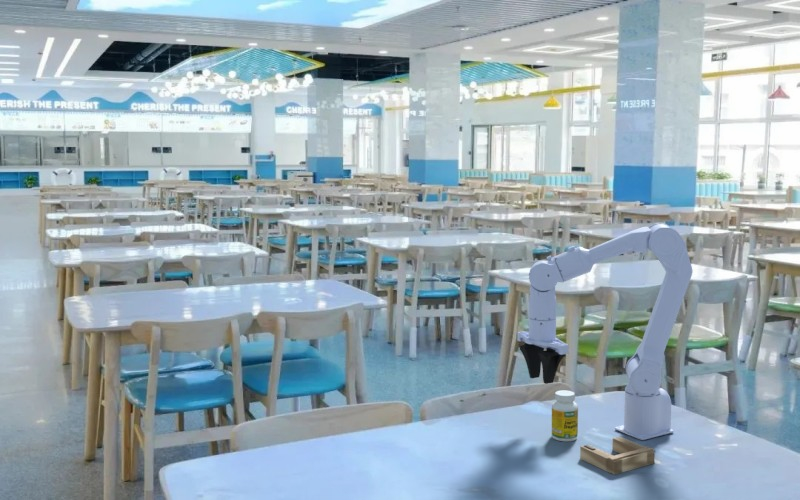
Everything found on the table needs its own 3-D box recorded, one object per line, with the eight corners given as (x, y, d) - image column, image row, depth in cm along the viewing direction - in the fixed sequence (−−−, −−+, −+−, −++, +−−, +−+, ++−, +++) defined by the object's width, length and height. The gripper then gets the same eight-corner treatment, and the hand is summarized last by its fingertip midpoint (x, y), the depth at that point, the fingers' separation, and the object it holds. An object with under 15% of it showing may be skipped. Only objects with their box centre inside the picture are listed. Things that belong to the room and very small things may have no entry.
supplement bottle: (564, 431, 175) (565, 387, 173) (583, 438, 170) (584, 393, 169) (545, 436, 172) (546, 391, 170) (564, 444, 167) (565, 398, 166)
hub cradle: (619, 448, 164) (620, 435, 164) (654, 463, 157) (654, 449, 156) (580, 458, 159) (580, 445, 159) (613, 474, 152) (614, 460, 151)
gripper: (506, 314, 178) (505, 374, 180) (550, 326, 166) (549, 391, 168) (531, 310, 182) (531, 370, 184) (576, 322, 170) (575, 386, 171)
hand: (541, 380), depth 176 cm, fingers open, 4 cm apart
